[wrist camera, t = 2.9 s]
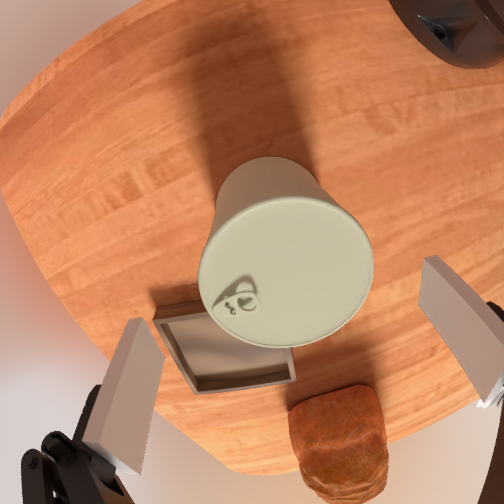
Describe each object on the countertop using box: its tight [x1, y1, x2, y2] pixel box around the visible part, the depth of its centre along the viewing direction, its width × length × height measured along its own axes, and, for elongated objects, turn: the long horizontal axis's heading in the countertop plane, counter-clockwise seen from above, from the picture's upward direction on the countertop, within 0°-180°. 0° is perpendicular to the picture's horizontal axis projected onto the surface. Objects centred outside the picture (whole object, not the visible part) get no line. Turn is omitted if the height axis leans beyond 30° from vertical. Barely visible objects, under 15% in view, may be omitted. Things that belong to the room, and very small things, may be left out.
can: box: [198, 156, 374, 348], centre depth 19 cm, size 9×9×12 cm
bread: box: [288, 384, 389, 504], centre depth 35 cm, size 14×26×16 cm, turn 21°
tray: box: [153, 300, 297, 395], centre depth 31 cm, size 13×13×2 cm
